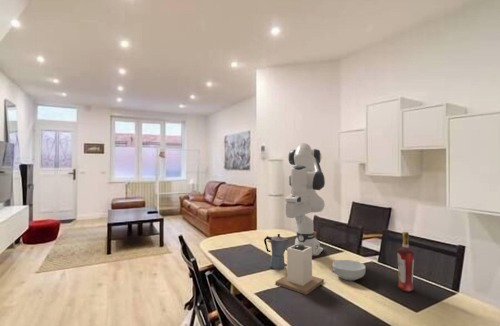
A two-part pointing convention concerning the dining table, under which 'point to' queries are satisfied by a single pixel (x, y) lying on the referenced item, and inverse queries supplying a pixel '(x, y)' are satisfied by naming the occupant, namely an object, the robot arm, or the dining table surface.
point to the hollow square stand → (299, 271)
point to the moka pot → (277, 251)
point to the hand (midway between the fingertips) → (299, 223)
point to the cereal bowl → (349, 269)
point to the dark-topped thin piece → (299, 247)
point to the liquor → (405, 265)
